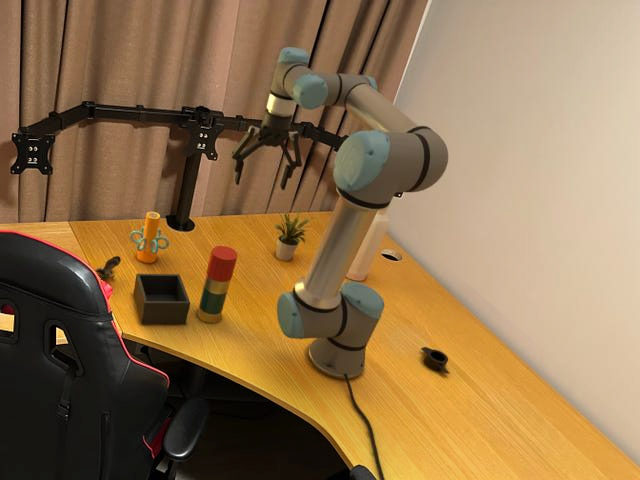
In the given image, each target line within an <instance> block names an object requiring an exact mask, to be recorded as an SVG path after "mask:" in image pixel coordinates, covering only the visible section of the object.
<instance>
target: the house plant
mask: <svg viewBox="0 0 640 480" xmlns="http://www.w3.org/2000/svg"><path fill="white" fill-rule="evenodd" d="M272 210H273V211H275V212H276V213H277V214H279V216H280V217H281V219H282V220H281V221H279V223H280V224H281V225H280V224H275V225H274V228H275V229H277V230H279V231H281V232H277V233H276V234H279V235H278V237H277V243H276V251H275V257H276V258H277V259H278V260H281V261H284V262H285V261H290V260H292V257H293V256H294V254H295V252H296V250H297V249H298V246H299V245H300V242H301V241H302V242H303V244H305V243H306V238H307V236H306V234H305V233H306V232H307V230H306V229H305V228H312V226H311V225H307V224H308V223H309V221H310V220H313V219H315V217H313V216H312V217H308V218H306V219H301V220H299V218H300V217H299V216H300V212H297V214H296V216H295V218H294V220H293V221H291V220H290V218H291V217H290V214H289V212H288V211H287V210H283V214H284V218H283V216H282V214H281V213H280V212H279V211H277V210H275V209H273V208H272ZM284 219H285V221H284ZM305 225H307V226H305ZM304 226H305V227H304ZM303 236H304V237H305V238H304V237H303Z"/></svg>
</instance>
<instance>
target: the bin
mask: <svg viewBox="0 0 640 480" xmlns="http://www.w3.org/2000/svg"><path fill="white" fill-rule="evenodd" d="M133 299H134V303H135V307H136V309H137V313H138V318H139V321H140V324H141V325H187V320H188V316H189V311H190V307H191V301H190V299H189V296H188V293H187V291H186V288H185V284H184V282H183V279H182V276H181V274H179V273H136V274H135V281H134V288H133Z"/></svg>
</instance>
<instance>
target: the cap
mask: <svg viewBox="0 0 640 480" xmlns="http://www.w3.org/2000/svg"><path fill="white" fill-rule="evenodd" d="M237 260H238V252H237V251H236V250H235V249H234V248H231V247H230V246H226V245H216V246H214V247H213V248H212V249H211V252H210V256H209V260H208V265H207V269H206V275H208V277H209V278H211V279H212V280H214V281H217V282H227V281H230V282H231V280H232V277H233V274H234V271H235V267H236V264H237Z"/></svg>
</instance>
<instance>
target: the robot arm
mask: <svg viewBox="0 0 640 480" xmlns="http://www.w3.org/2000/svg"><path fill="white" fill-rule="evenodd" d="M309 60H310V53H309V52H307V50H304V49H302V48H298V47H293V46H292V47H291V46H289V47H288V46H287V47H283V48H282V49H281V50H280V52H279V56H278V59H277V61H276V66H275V70H274V75H273V78H272V82H271V85H270V86H271V87H270V91H269V95H268V99H267V102H266V109H265V110H264V114H263V117H262V121H261V124H260V126H259V127H257V126H254V125H253V124H250V125H249V126H248V129H247V132H246V133H245V134H244V135H243V137H242V138H241V140H240V141H239V142H238V143H237V144H236V145H235V147H234V148H233V150H232V151H231V152H230V155H231V158H232V160H235V164H234V169H233V170H234V172H235V173H236V174H235V178H234V182H235V185H237V186H239V185H240V181H241V178H242V173H243V170H244V166H245V162H244V160H245V159H247V158H248V157H249V156H250V155H252V154H253V153H254V152H255V151H257V150H258V149H259V148H261V147H263V146H265V147H273V148H277V147H279V146H280V149H281V150H282V152H283V154H284V157H285V158H286V160H287V162H288V164H286V165H285V168H284V172H283V175H282V178H281V181H280V184H279V185H280V186H279V187H280V189H281V190H282V191H285V190H286V186H287V183H288V180H290V179H292V177H293V173H294V170H296V169H297V168H302V167H303V162H302V156H301V150H300V146H299V145H300V144H299V139H300V134H299V132H298V130H296V129H294V130H293V131H290V128H291V124H292V120H293V118H294V116H293V114H294V113H295V111H296V107H297V105H299V107H302V108H303V109H304V110H308V111H313V110H315V109H317V108H320V107H321V106H325V107H326V106H327V107H328V106H329V107H339V108H343V109H344V110H345V111H347V113H349V114H350V115H351V117H353V118H354V119H355V120H356V121H357V122H358V123H359V124H361V126H363V127H364V128H365V130H361V131H360V130H359V131H357V132H355V133H352V134H351V135H349V136H348V137H347V138H346V139H345V140H344V141H343V143H342V144H341V145H340V146H339V149H338V151H337V152H336V156H335V158H334V163H333V165H334V168H333V171H332V176H333V180H334V183H335V185H336V192H337V194H338V196H339V197H338V199H337V202H336V204H335V207H334V209H333V212H332V213H331V216H330V218H329V220H328V222H327V225H326V227H325V230H324V232H323V234H322V237H321V240H320V242H319V244H318V246H317V248H316V250H315V253H314V255H313V258H312V259H311V262H310V265H309V267H308V269H307V272H306V274H305V276H303V277H300V278H299V279H297V281H295V284H294V286H293V288H292V290H291V291H285V292H282V293H280V295H279V296H278V298H277V304H276V316H277V322H278V325H279V328H280V331H281V332H282V333H283V335H284V336H285V337H286V338H288V339H296V340H305V339H306V340H307V339H314V340H313V341H312V342H311V343H310V345H309V347H308V350H307V359H308V360H309V363H310V364H311V365H312V366H313V367H314V369H315V370H317V371H318V372H319V373H321V374H323V375H324V376H326V377H330V378H332V379H335V380H341V381H345V382H346V385H347V390H348V392H349V397H350V400H351V402H352V405H353V407H354V408H355V410H356V412H357V413H358V414H359V415H360V416H361V418H362V419H363V420H364V422H365V424H366V426H367V429H368V432H369V436H370V440H371V446H372V449H373V455H374V460H375V462H376V467H377V471H378V475H379V477H380V480H385V479H386V478H385V476H384V473H383V468H382V466H381V462H380V457H379V454H378V449H377V444H376V440H375V439H376V438H375V435H374V430H373V428H372V424H371V423H370V421H369V419H368V418H367V416H366V415H365V414H364V412H363V411H362V409H361V408H360V407H359V405H358V404H357V401H356V399H355V397H354V396H355V395H354V393H353V388H352V385H351V382H350V380H353V379H356V378H358V377H359V376H361V374H362V372H363V370H364V368H365V366H366V365H365V364H366V349H367V345H368V343H369V341H370V340H371V337H372V336H373V334H374V331H375V329H376V328H377V326H378V323H379V321H380V320H381V318H382V314H383V311H384V309H385V300H384V299H383V297H382V296H381V294H380V293H379V292H378V291H377V290H375V289H374V288H372V287H370V286H368V285H367V284H364V283H361V282H360V281H354V280H351V281H346V282H344V281H345V279H346V278H347V277H346V275H347V273H348V271H349V269H350V267H351V265H352V263H353V261H354V259H355V257H356V255H357V253H358V251H359V249H360V246H361V244H362V242H363V240H364V238H365V236H366V234H367V232H368V230H369V228H370V226H371V224H372V222H373V220H374V218H375V216H376V214H377V212H378V211H379V210H383V209H385V208H387V207H388V206H389V207H390V205H391V203H390V202H392V200H393V199H394V197H395V195H396V193H418V192H422V191H425V190H427V189H429V188H432V187H433V186H434V185H435V184H436V183H437V182H439V180H440V179H441V178H442V177H443V176H444V174H445V171H446V170H447V167H448V163H449V150H448V147H447V144H446V143H445V140H444V139H443V137H441V136H440V135H439V134H438V133H437V132H436V131H434V130H433V128H431V127H429V126H428V125H418V124H417V123H416V122H415V121H414V120H412V119H411V118H410V117H409V116H407V114H405V113H404V112H403V111H402V110H400V109H399V108H398V107H396V105H394V104H393V103H392V102H390V101H389V100H388V99H387V98H386V97H384V95H382V94H381V93H380V92H378V85H377V81H376V80H375V78H374V77H372V76H368V75H363V74H351V73H337V72H336V73H335V72H326V71H315V70H312V69H310V68H309V67H308V65H309ZM257 134H258V135H259V136H258V137H256V139H254V141H252V139H253V137H254V136H256V135H257ZM288 138H289V139H290V141H291V143H292V147H293V152H294V159H295V160H294V159H293V158H292V156H291V154H290V152H289V150H288V148H287V146H286V144H285V141H286V140H287V139H288ZM250 141H252V143H250ZM249 143H250V144H249ZM248 144H249V145H248ZM392 198H393V199H392ZM389 204H390V205H389ZM389 207H388V208H389Z"/></svg>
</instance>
